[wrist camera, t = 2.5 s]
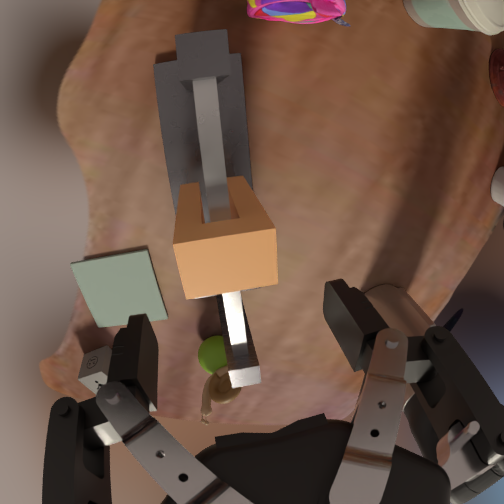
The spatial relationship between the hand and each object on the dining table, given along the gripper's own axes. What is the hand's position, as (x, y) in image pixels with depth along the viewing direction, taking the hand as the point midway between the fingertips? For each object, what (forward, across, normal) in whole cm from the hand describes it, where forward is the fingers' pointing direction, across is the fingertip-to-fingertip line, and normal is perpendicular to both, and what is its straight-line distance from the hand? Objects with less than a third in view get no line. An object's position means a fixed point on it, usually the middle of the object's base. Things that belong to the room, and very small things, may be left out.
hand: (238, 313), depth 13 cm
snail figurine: (+20, +3, +22) cm, 30 cm away
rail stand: (+20, 0, 0) cm, 20 cm away
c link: (+15, 0, 0) cm, 15 cm away
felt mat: (+20, +13, +11) cm, 26 cm away
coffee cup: (+20, -27, -22) cm, 40 cm away
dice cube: (+20, +20, +23) cm, 36 cm away
